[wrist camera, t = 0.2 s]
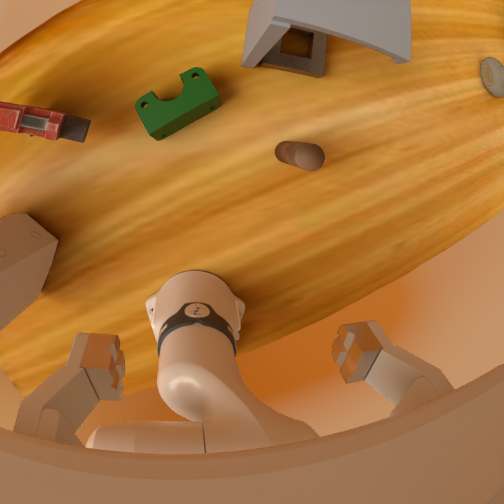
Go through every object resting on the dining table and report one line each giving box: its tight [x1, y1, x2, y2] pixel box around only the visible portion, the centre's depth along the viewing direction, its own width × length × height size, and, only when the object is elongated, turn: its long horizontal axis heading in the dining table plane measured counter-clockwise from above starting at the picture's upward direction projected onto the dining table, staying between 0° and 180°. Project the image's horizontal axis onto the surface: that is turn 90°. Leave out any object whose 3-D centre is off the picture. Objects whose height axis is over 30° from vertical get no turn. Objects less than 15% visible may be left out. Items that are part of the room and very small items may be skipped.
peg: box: [275, 141, 325, 171], centre depth 42 cm, size 4×4×12 cm
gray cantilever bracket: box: [241, 0, 411, 68], centre depth 30 cm, size 11×16×21 cm
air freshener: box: [481, 57, 504, 98], centre depth 41 cm, size 11×8×10 cm
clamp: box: [135, 67, 221, 141], centre depth 39 cm, size 12×6×9 cm, turn 113°
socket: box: [260, 24, 328, 78], centre depth 39 cm, size 10×10×2 cm
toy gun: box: [0, 102, 91, 143], centre depth 31 cm, size 4×20×15 cm, turn 68°
